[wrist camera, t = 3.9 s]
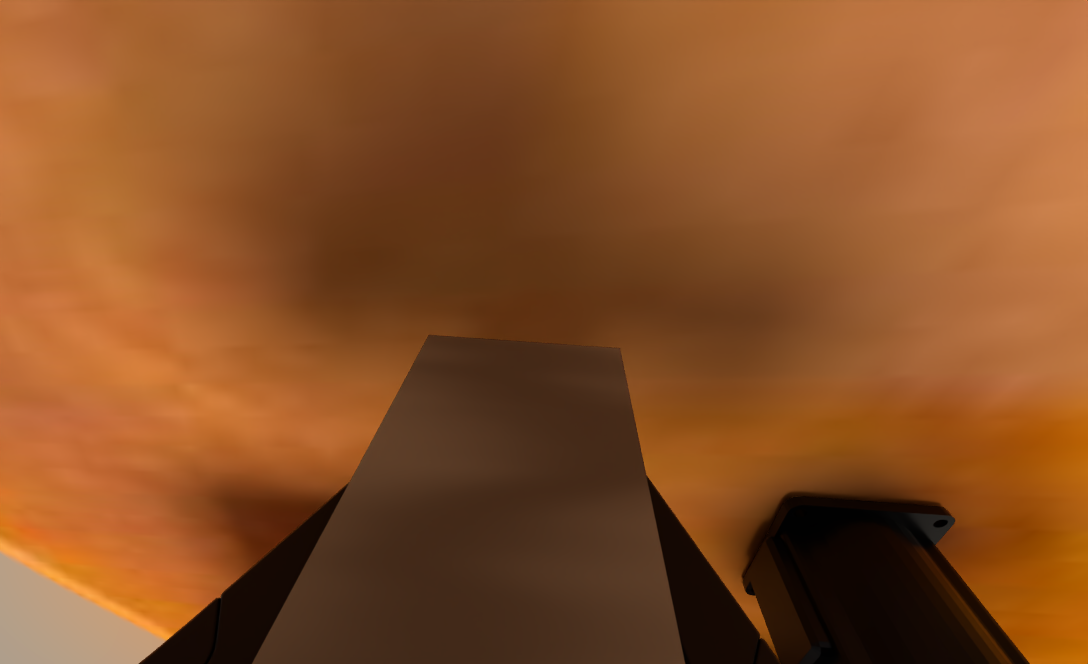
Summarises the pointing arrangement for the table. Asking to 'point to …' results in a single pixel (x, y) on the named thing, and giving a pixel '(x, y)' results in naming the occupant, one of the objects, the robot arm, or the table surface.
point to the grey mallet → (491, 523)
